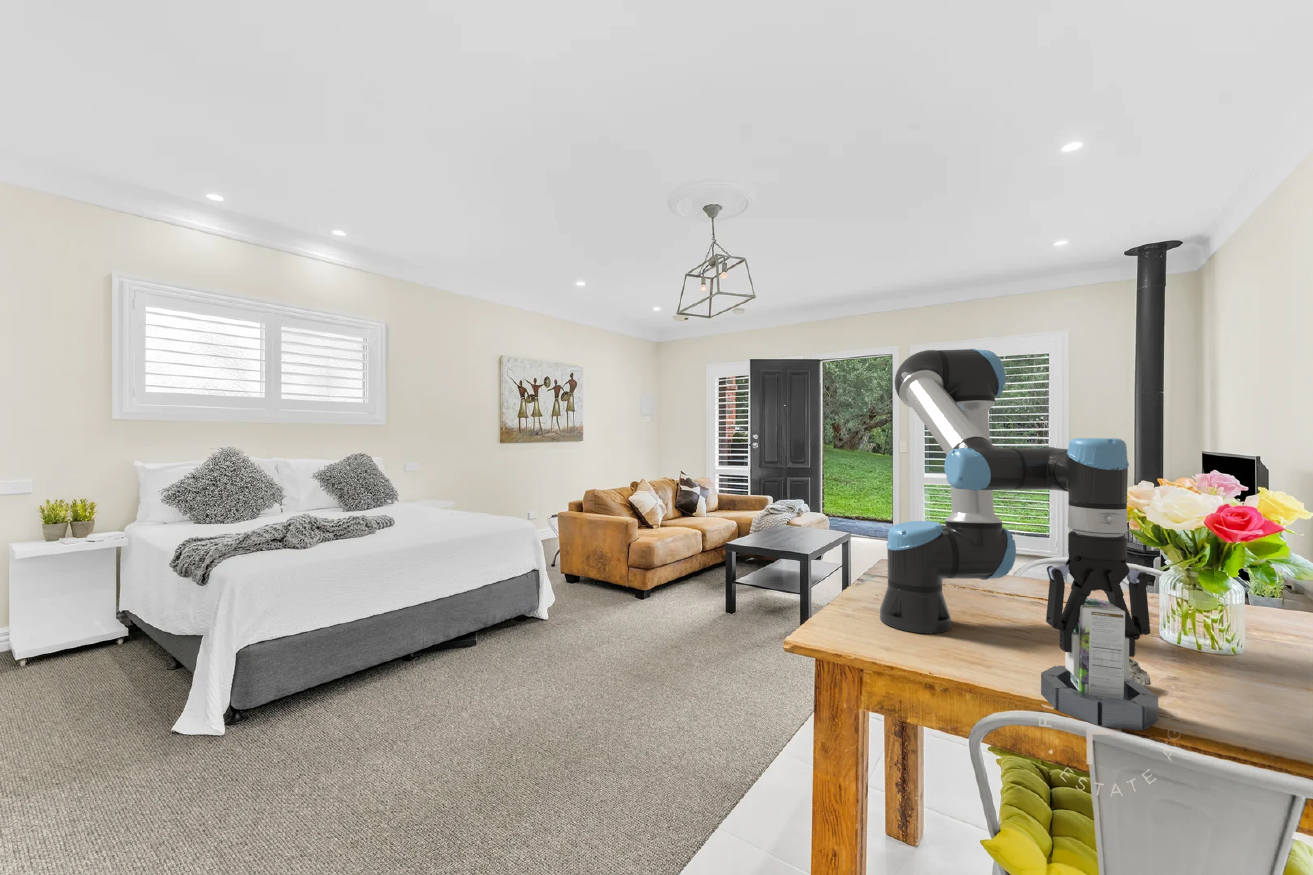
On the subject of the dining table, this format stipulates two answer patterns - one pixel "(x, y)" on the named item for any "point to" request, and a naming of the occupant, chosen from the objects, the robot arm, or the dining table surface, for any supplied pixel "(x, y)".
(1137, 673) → the rock sample
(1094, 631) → the syrup box
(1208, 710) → the dining table surface
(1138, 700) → the collar
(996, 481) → the robot arm
